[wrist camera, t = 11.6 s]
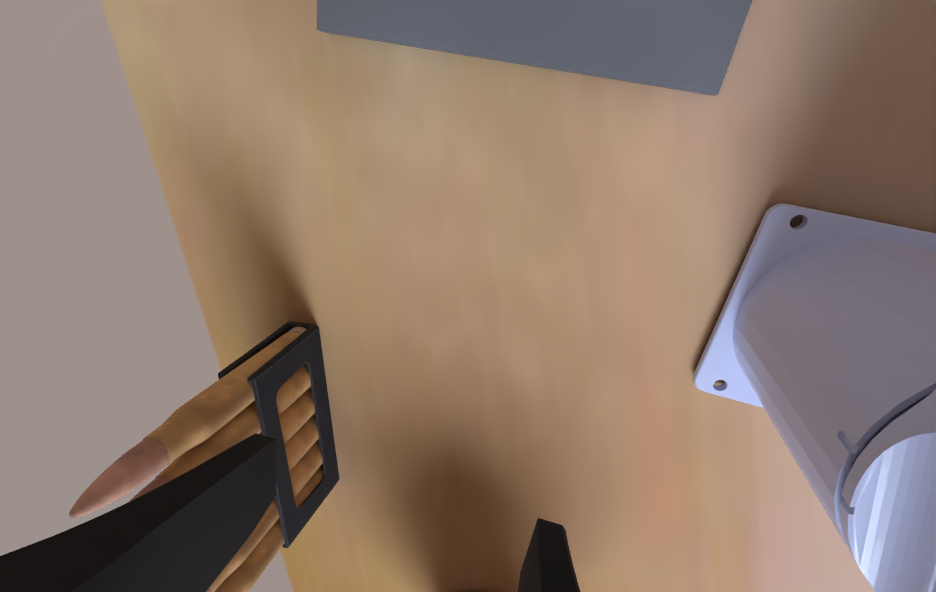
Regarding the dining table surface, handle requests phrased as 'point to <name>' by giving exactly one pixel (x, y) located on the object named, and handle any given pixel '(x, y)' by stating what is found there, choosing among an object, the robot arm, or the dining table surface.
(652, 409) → the dining table surface
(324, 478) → the ammunition clip
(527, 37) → the grey square tray
